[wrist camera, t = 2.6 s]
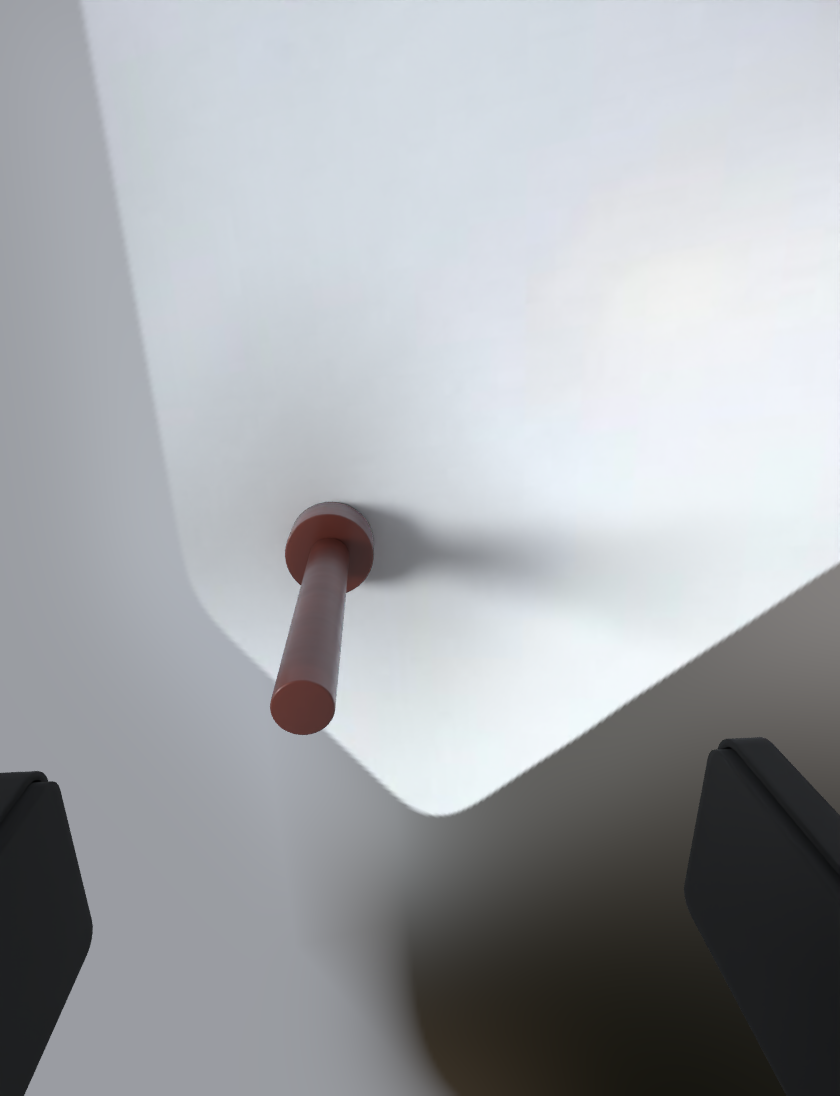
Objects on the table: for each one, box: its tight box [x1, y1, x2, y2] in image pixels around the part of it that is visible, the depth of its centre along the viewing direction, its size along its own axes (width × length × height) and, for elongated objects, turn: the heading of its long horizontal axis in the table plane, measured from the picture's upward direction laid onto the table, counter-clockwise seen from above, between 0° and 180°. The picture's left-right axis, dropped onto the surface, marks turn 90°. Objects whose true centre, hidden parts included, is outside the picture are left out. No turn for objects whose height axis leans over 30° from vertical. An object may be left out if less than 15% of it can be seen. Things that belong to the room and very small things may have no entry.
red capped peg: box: [270, 502, 373, 735], centre depth 24 cm, size 4×4×14 cm
